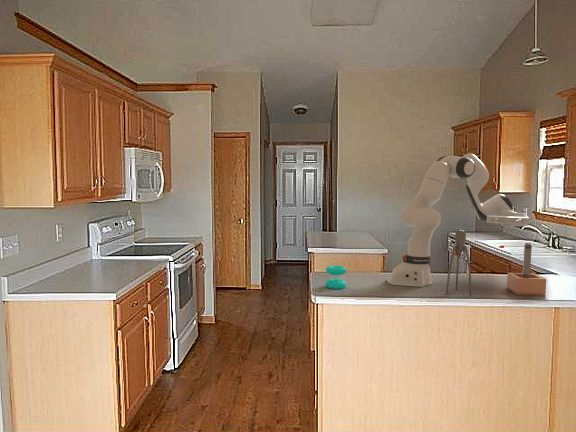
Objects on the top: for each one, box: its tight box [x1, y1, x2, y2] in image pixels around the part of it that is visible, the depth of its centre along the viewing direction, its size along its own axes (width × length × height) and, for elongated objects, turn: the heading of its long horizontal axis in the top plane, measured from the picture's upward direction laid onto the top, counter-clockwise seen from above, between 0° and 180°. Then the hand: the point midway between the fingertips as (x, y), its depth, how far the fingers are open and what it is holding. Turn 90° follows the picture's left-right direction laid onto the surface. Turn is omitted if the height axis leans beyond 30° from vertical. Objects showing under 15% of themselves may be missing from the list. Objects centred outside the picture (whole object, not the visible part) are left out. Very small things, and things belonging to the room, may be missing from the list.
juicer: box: [445, 229, 472, 297], centre depth 246 cm, size 10×11×30 cm
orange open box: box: [506, 272, 547, 297], centre depth 249 cm, size 13×13×8 cm
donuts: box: [325, 265, 347, 290], centre depth 255 cm, size 10×10×10 cm
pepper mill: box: [522, 242, 533, 278], centre depth 248 cm, size 5×5×23 cm
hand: (507, 221), depth 266 cm, fingers open, 8 cm apart
